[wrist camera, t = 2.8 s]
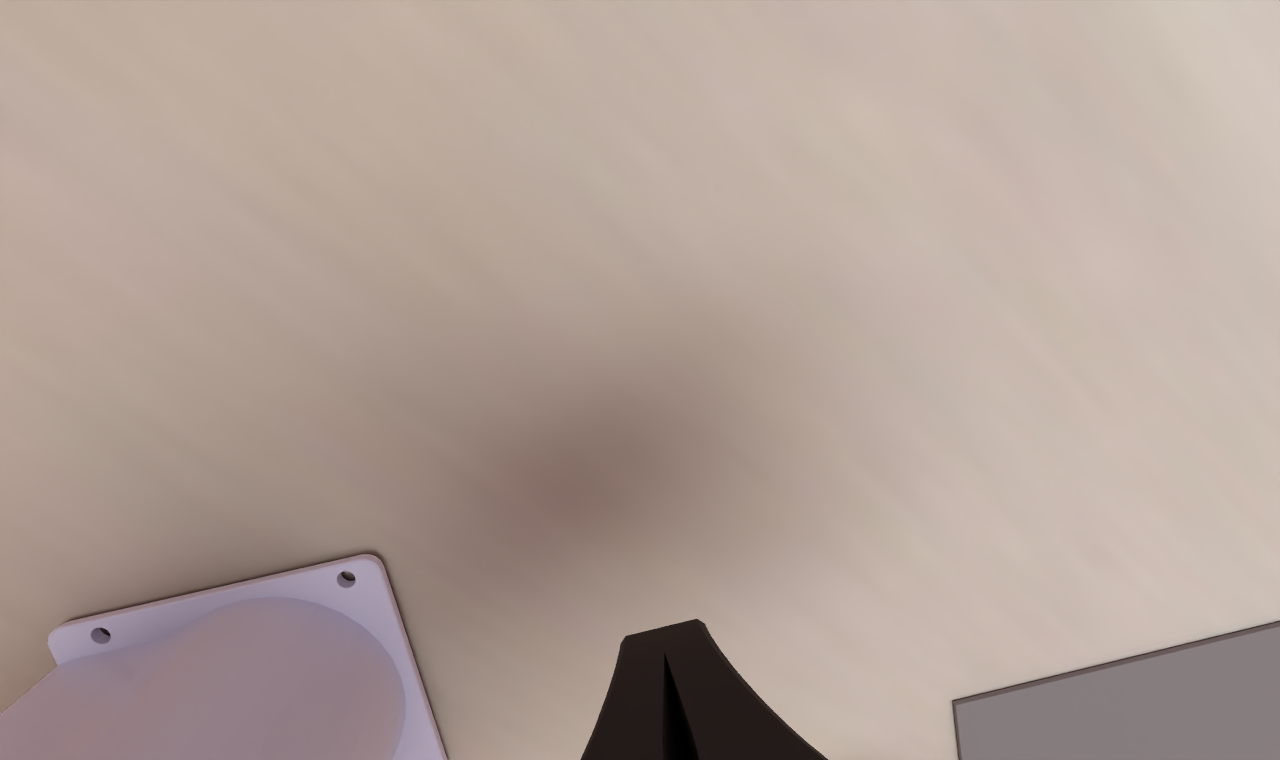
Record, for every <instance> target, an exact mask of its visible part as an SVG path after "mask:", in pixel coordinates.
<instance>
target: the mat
mask: <svg viewBox="0 0 1280 760" xmlns="http://www.w3.org/2000/svg"><path fill="white" fill-rule="evenodd" d="M953 708H954V717H955V726H956V734H957V743H958V752H959V760H1280V622H1277V623H1272V624H1268V625H1264V626H1260V627H1256V628H1252V629H1248V630H1244V631H1240V632H1235V633H1231V634H1227V635H1223V636H1219V637H1215V638H1211V639H1207V640H1203V641H1198V642H1194V643H1190V644H1186V645H1182V646H1178V647H1174V648H1170V649H1166V650H1161V651H1157V652H1153V653H1149V654H1145V655H1141V656H1137V657H1133V658H1129V659H1124V660H1120V661H1116V662H1112V663H1108V664H1104V665H1100V666H1096V667H1092V668H1088V669H1083V670H1079V671H1075V672H1071V673H1067V674H1063V675H1059V676H1055V677H1051V678H1046V679H1042V680H1038V681H1034V682H1030V683H1026V684H1022V685H1018V686H1014V687H1009V688H1005V689H1001V690H997V691H993V692H989V693H985V694H981V695H977V696H972V697H968V698H964V699H960V700H956V701H953Z"/></svg>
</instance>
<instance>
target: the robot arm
mask: <svg viewBox="0 0 1280 760" xmlns="http://www.w3.org/2000/svg"><path fill="white" fill-rule="evenodd" d="M343 571H348V572H350V573H352V574H353V575H354V576H355V580H354V581H348V580H346V579H344V578H343V577H342V575H341V572H343ZM100 628H104V629H106V630H108V632H109V633H110V635H111V636H107V635H105V634H103V632H102V631H101V630H100ZM47 642H48V647H49V649H50V651H51V653H52V655H53V657H54V660H55V662H56V664H57V666H56V667H55V668H54V669H53V670H52V671H50V672H49V673H48V674H47V675H46V676H45V677H43V678H42V679H41V680H40V681H39V682H38V683H36V684H35V685H34V686H33V687H32V688H31V689H29V690H28V691H27V692H26V693H25V694H24V695H22V696H21V697H20V698H19V699H18V700H17V701H15V702H14V703H13V704H12V705H11V706H10V707H8V708H7V709H6V710H5V711H4V712H3V713H2V714H0V760H447V757H446V754H445V751H444V748H443V745H442V742H441V739H440V736H439V732H438V729H437V726H436V723H435V720H434V717H433V714H432V711H431V708H430V705H429V702H428V699H427V696H426V693H425V690H424V687H423V684H422V681H421V678H420V674H419V671H418V668H417V665H416V662H415V659H414V656H413V653H412V650H411V647H410V644H409V641H408V638H407V635H406V632H405V629H404V626H403V623H402V620H401V616H400V613H399V610H398V607H397V604H396V601H395V598H394V595H393V592H392V589H391V586H390V583H389V580H388V577H387V574H386V571H385V568H384V565H383V563H382V562H381V560H380V559H378V558H377V557H376V556H373V555H370V554H362V555H357V556H353V557H349V558H344V559H340V560H335V561H331V562H327V563H322V564H318V565H314V566H309V567H305V568H300V569H296V570H292V571H287V572H283V573H278V574H274V575H270V576H265V577H261V578H257V579H252V580H248V581H243V582H239V583H235V584H230V585H226V586H221V587H217V588H213V589H208V590H204V591H200V592H195V593H191V594H186V595H182V596H178V597H173V598H169V599H164V600H160V601H156V602H151V603H147V604H143V605H138V606H134V607H129V608H125V609H121V610H116V611H112V612H107V613H103V614H99V615H94V616H90V617H86V618H81V619H77V620H72V621H68V622H65V623H63V624H61V625H59V626H58V627H57V628H56V629H54V630H53V631H52V632H51V633H50V634H49V636H48V640H47ZM581 760H828V759H827V758H826V757H824V756H823V755H822V754H821V753H819V752H818V751H817V750H816V749H815V748H813V747H812V746H811V745H810V744H808V743H807V742H806V741H805V740H804V739H803V738H802V737H800V736H799V735H798V734H797V733H796V732H795V731H794V730H793V729H792V728H790V727H789V726H788V725H787V724H786V723H785V722H784V721H783V720H782V719H781V718H780V717H779V716H778V715H777V714H776V713H775V712H774V711H773V710H772V709H771V708H770V707H769V706H768V705H767V704H766V703H765V702H764V701H763V700H762V699H761V698H760V697H759V696H758V695H757V694H756V693H755V691H754V690H753V689H752V688H751V687H750V686H749V685H748V683H747V682H746V681H745V680H744V679H743V678H742V677H741V676H740V674H739V673H738V672H737V671H736V670H735V668H734V667H733V666H732V665H731V663H730V662H729V661H728V660H727V658H726V657H725V656H724V654H723V653H722V652H721V650H720V649H719V647H718V646H717V644H716V643H715V641H714V640H713V638H712V637H711V635H710V633H709V631H708V630H707V628H706V625H705V623H703V622H701V621H700V620H698V619H694V620H690V621H686V622H682V623H678V624H673V625H669V626H665V627H661V628H657V629H653V630H649V631H645V632H641V633H636V634H632V635H628V636H626V637H625V638H624V640H623V641H622V643H621V645H620V651H619V655H618V659H617V663H616V667H615V670H614V674H613V677H612V680H611V683H610V687H609V690H608V693H607V696H606V698H605V701H604V704H603V706H602V709H601V712H600V715H599V717H598V720H597V723H596V725H595V728H594V730H593V733H592V735H591V737H590V740H589V742H588V744H587V746H586V749H585V751H584V753H583V755H582V758H581Z"/></svg>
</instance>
